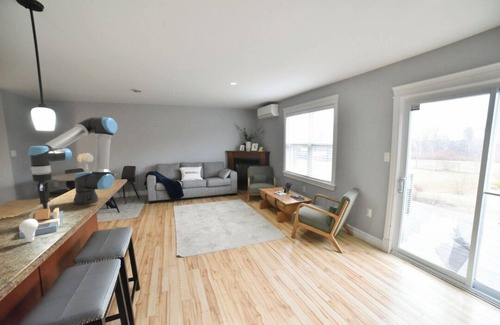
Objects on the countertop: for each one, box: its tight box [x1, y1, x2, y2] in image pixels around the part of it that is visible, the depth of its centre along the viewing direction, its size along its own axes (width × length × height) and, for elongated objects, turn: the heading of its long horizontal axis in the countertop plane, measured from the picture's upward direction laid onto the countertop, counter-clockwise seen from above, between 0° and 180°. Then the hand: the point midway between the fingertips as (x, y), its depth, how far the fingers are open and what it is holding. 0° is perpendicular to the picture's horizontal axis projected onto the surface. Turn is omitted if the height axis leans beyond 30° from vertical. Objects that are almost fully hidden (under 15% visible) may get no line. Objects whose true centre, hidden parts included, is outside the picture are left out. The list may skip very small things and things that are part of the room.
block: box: [34, 208, 51, 221], centre depth 113 cm, size 5×5×5 cm
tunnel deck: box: [18, 207, 64, 239], centre depth 114 cm, size 28×13×7 cm, turn 37°
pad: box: [37, 218, 61, 228], centre depth 112 cm, size 6×13×3 cm, turn 127°
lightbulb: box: [18, 218, 38, 243], centre depth 95 cm, size 6×6×11 cm
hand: (46, 213), depth 118 cm, fingers closed
